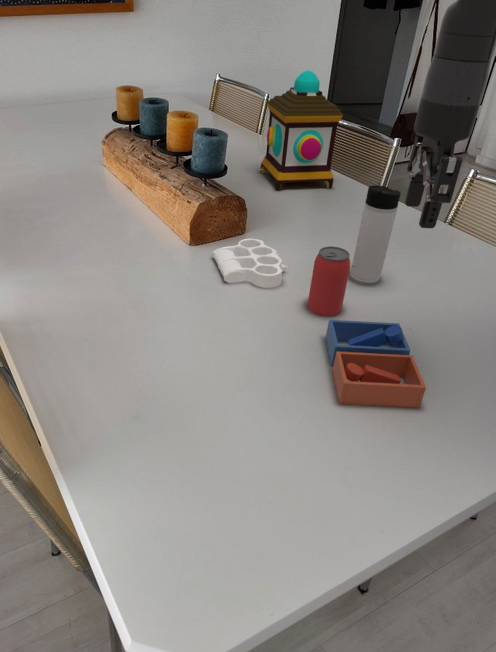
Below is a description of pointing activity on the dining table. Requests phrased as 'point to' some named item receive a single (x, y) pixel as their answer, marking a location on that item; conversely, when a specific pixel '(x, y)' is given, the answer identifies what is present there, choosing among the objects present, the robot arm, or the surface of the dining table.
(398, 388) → the terracotta bin
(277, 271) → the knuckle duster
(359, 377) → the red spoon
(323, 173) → the decorative lantern
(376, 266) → the travel mug
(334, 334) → the blue bin
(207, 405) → the dining table surface
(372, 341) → the blue spoon
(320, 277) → the beer can
